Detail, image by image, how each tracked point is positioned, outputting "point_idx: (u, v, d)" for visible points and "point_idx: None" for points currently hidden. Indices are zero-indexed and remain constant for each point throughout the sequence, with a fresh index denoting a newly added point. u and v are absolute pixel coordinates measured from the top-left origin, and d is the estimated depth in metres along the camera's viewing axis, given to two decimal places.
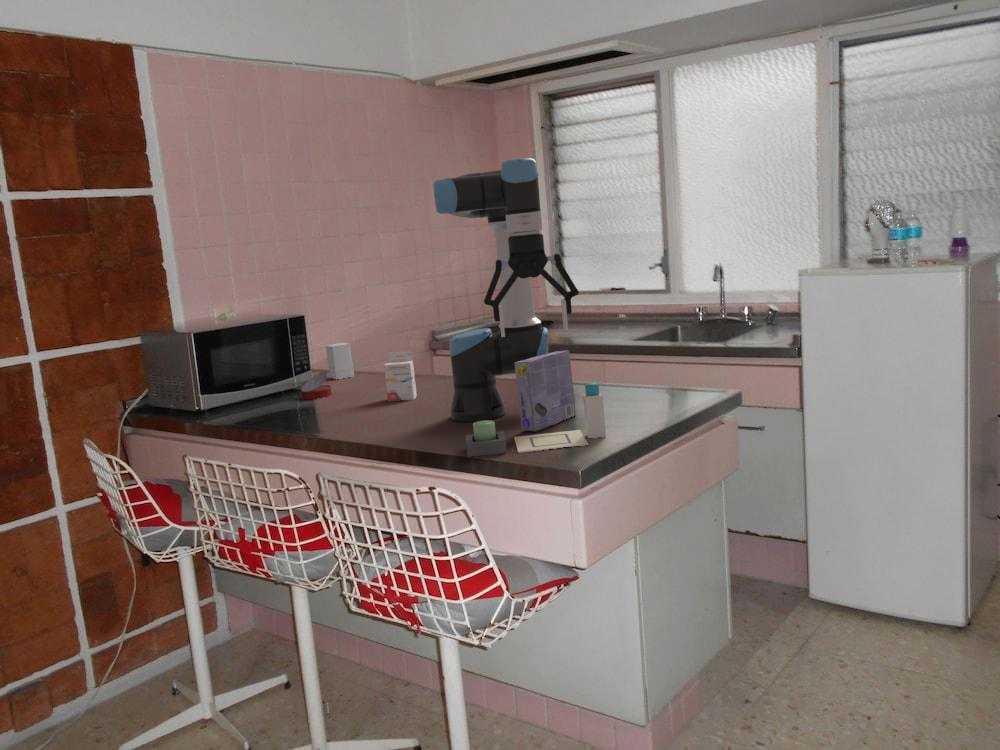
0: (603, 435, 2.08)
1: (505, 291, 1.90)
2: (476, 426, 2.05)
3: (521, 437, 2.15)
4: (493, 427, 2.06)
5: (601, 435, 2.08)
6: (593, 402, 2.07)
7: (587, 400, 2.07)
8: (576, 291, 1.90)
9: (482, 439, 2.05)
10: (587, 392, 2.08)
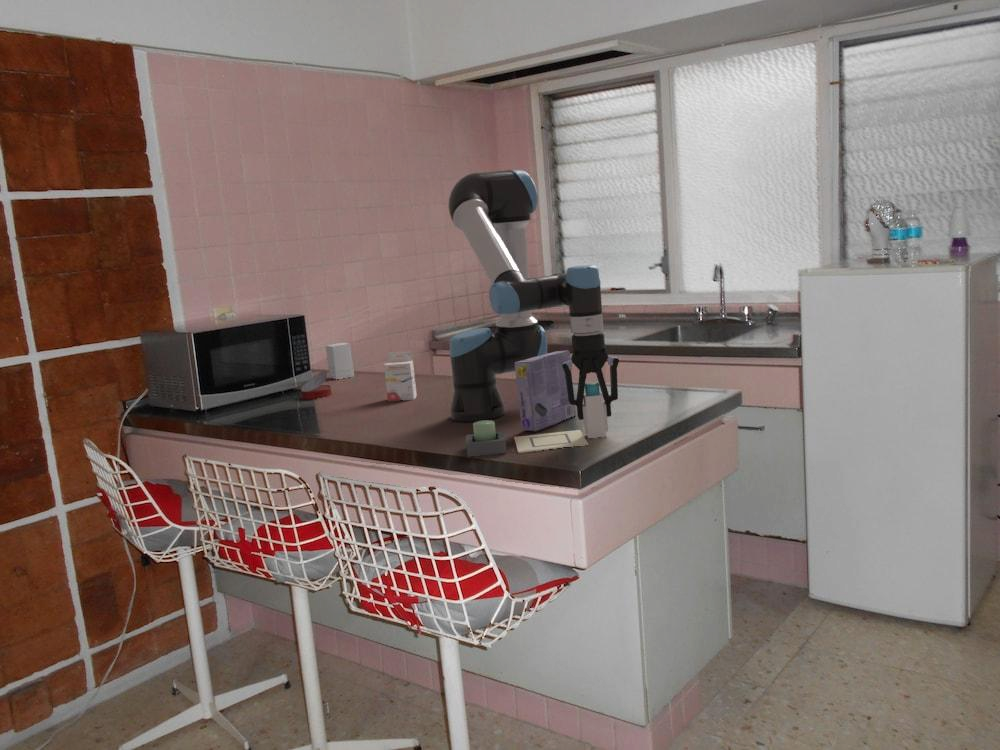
0: (603, 435, 2.08)
1: (582, 390, 2.07)
2: (476, 426, 2.05)
3: (521, 437, 2.15)
4: (493, 427, 2.06)
5: (601, 435, 2.08)
6: (593, 402, 2.07)
7: (587, 400, 2.07)
8: (616, 396, 2.08)
9: (482, 439, 2.05)
10: (587, 392, 2.08)
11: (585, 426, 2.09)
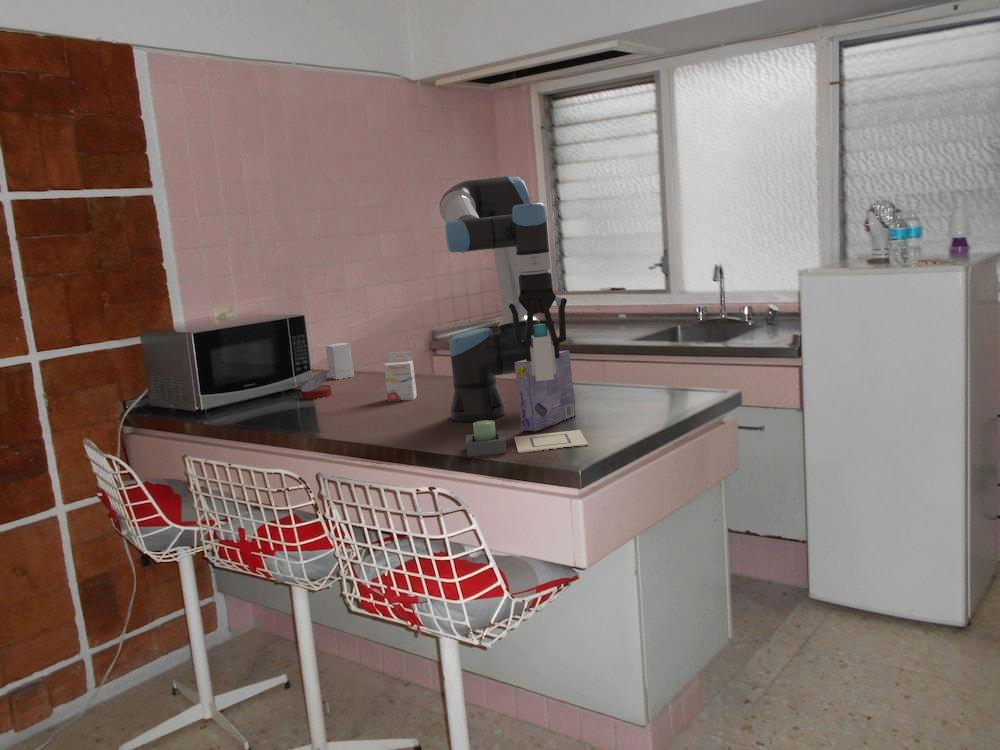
0: (551, 377, 2.04)
1: (529, 330, 2.03)
2: (476, 426, 2.05)
3: (521, 437, 2.15)
4: (493, 427, 2.06)
5: (549, 377, 2.04)
6: (540, 343, 2.03)
7: (534, 341, 2.03)
8: (564, 338, 2.04)
9: (482, 439, 2.05)
10: (535, 333, 2.04)
11: (533, 368, 2.05)
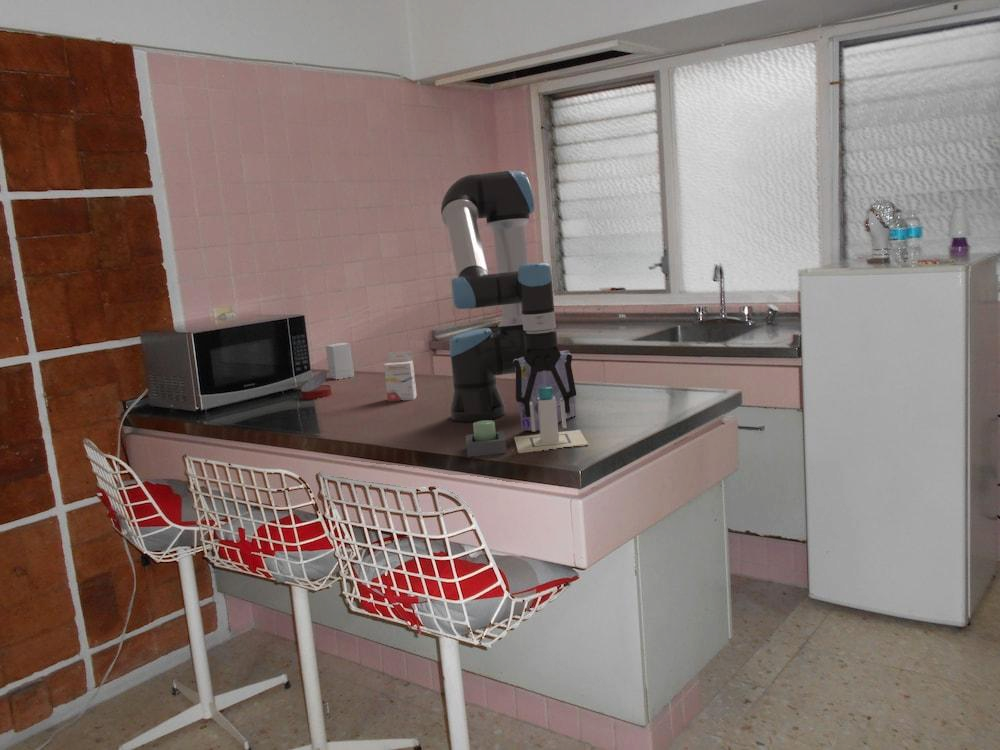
0: (556, 439, 2.07)
1: (531, 387, 2.06)
2: (476, 426, 2.05)
3: (521, 437, 2.15)
4: (493, 427, 2.06)
5: (554, 439, 2.07)
6: (546, 406, 2.06)
7: (540, 404, 2.05)
8: (574, 393, 2.06)
9: (482, 439, 2.05)
10: (541, 396, 2.06)
11: (532, 424, 2.07)
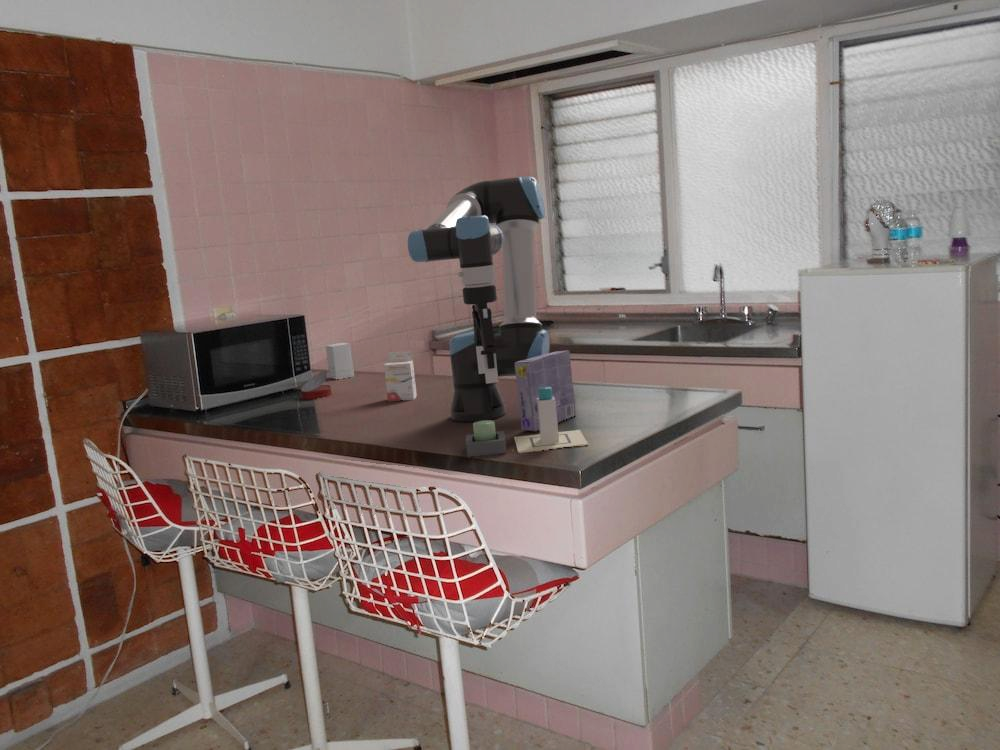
0: (556, 439, 2.07)
1: (476, 334, 2.08)
2: (476, 426, 2.05)
3: (521, 437, 2.15)
4: (493, 427, 2.06)
5: (554, 439, 2.07)
6: (546, 407, 2.06)
7: (540, 404, 2.05)
8: (484, 349, 1.94)
9: (482, 439, 2.05)
10: (540, 396, 2.06)
11: (478, 366, 2.11)
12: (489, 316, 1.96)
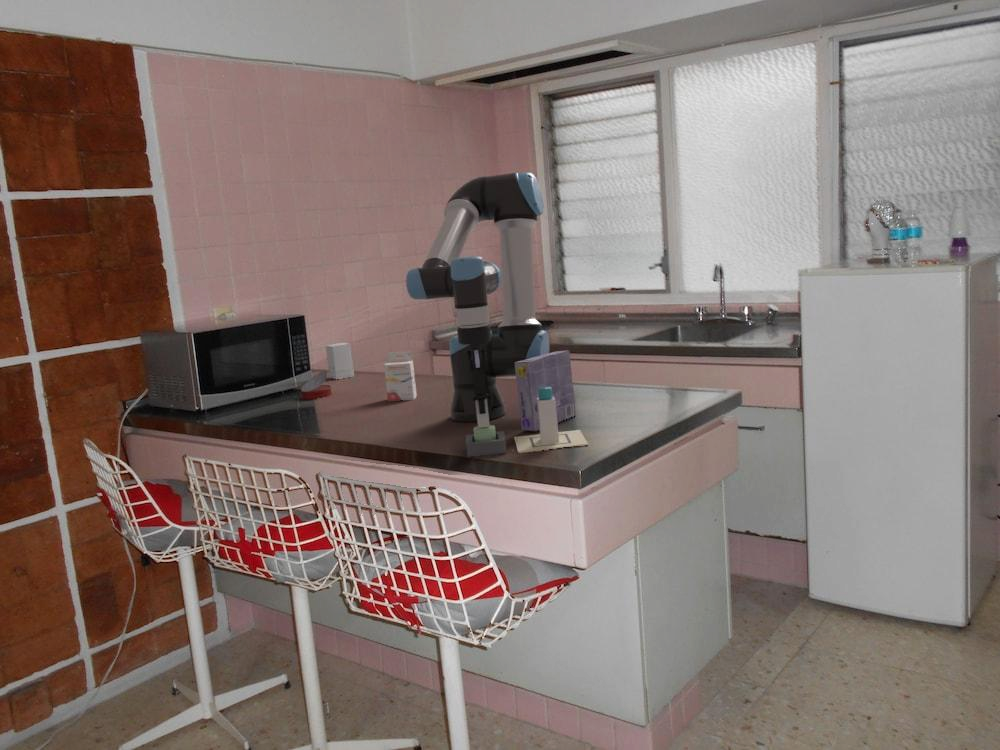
0: (556, 439, 2.07)
1: None
2: (476, 431, 2.05)
3: (521, 437, 2.15)
4: (493, 432, 2.06)
5: (554, 439, 2.07)
6: (546, 407, 2.06)
7: (540, 404, 2.05)
8: (475, 396, 2.02)
9: None
10: (540, 396, 2.06)
11: None
12: (481, 367, 1.99)
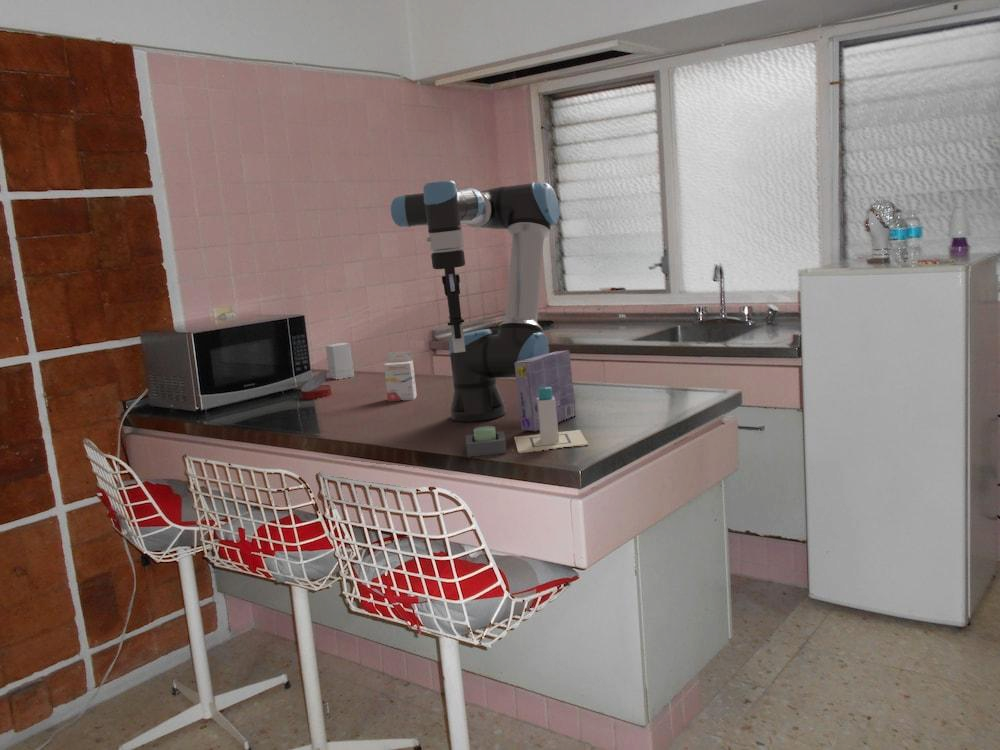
0: (556, 439, 2.07)
1: None
2: (477, 432, 2.05)
3: (521, 437, 2.15)
4: (494, 433, 2.06)
5: (554, 439, 2.07)
6: (546, 407, 2.06)
7: (540, 404, 2.05)
8: (450, 320, 2.03)
9: None
10: (540, 396, 2.06)
11: None
12: (456, 290, 2.00)
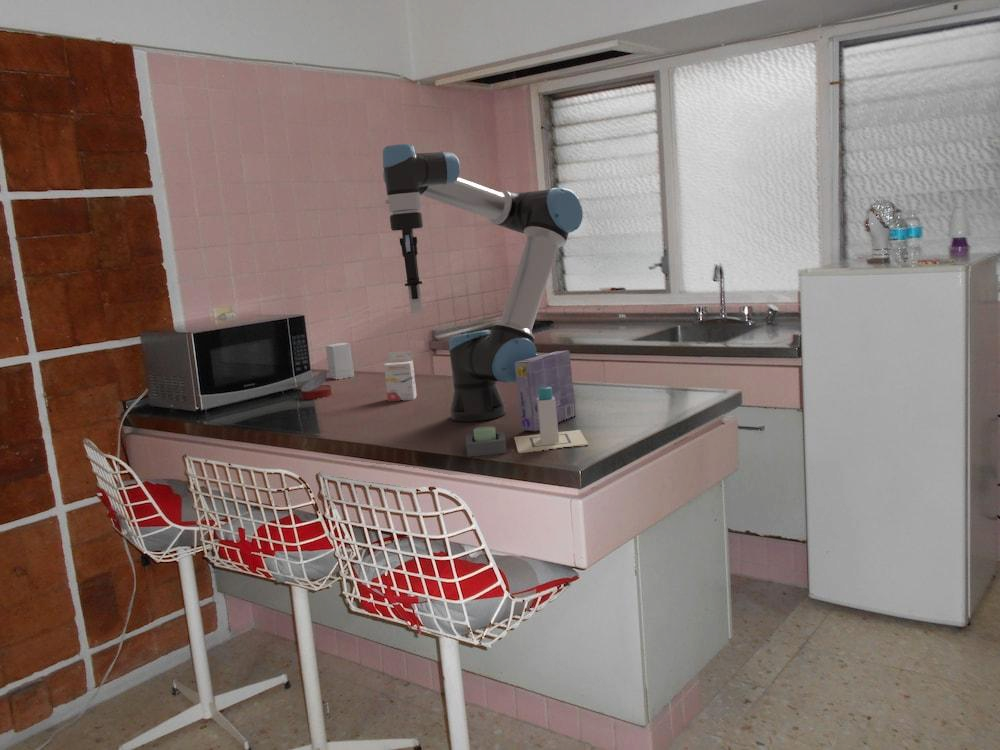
0: (556, 439, 2.07)
1: None
2: (477, 432, 2.05)
3: (521, 437, 2.15)
4: (494, 433, 2.06)
5: (554, 439, 2.07)
6: (546, 407, 2.06)
7: (540, 404, 2.05)
8: (407, 280, 2.09)
9: None
10: (540, 396, 2.06)
11: None
12: (412, 250, 2.06)
